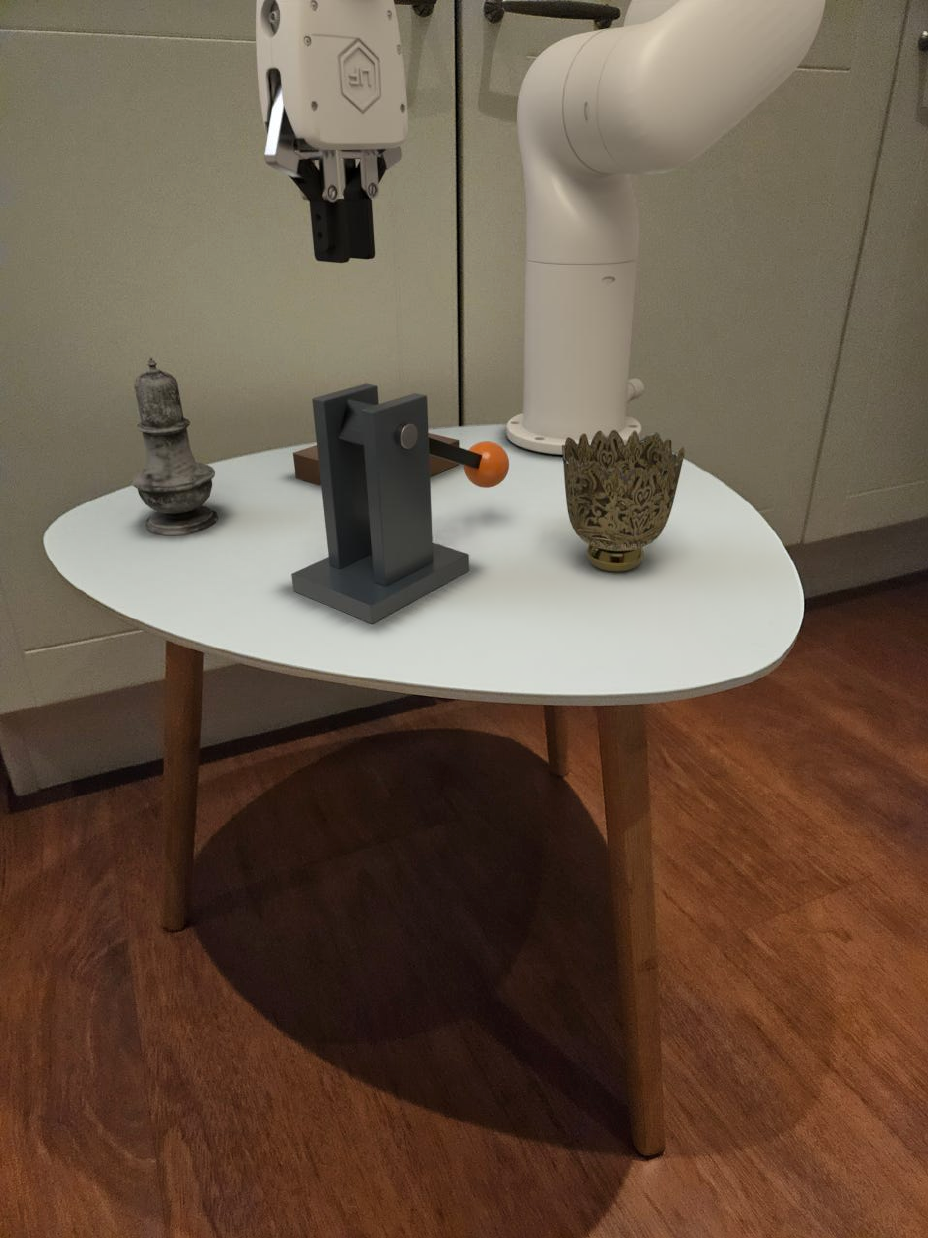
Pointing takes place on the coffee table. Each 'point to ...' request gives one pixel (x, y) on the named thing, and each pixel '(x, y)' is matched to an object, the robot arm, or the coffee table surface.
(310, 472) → the brown block
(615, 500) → the cup
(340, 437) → the switch lever
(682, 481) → the coffee table surface
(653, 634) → the coffee table surface
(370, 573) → the switch bracket
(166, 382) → the salt shaker
